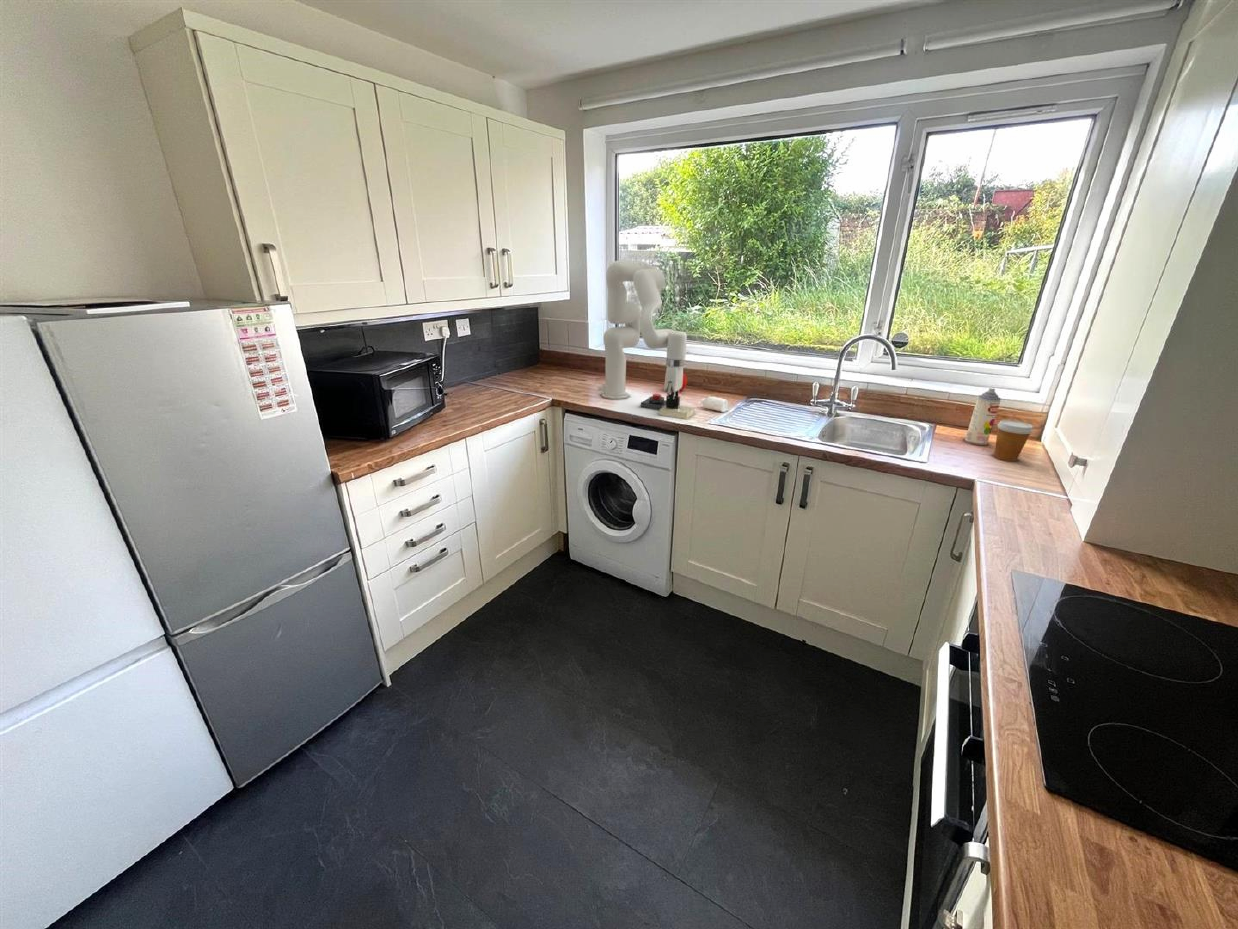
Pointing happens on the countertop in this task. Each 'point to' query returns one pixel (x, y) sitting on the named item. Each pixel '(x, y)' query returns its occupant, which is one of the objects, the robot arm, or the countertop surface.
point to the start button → (656, 396)
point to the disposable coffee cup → (1011, 439)
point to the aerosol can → (983, 418)
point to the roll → (715, 403)
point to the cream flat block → (677, 412)
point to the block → (653, 403)
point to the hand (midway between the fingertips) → (672, 406)
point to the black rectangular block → (677, 402)
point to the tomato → (683, 382)
